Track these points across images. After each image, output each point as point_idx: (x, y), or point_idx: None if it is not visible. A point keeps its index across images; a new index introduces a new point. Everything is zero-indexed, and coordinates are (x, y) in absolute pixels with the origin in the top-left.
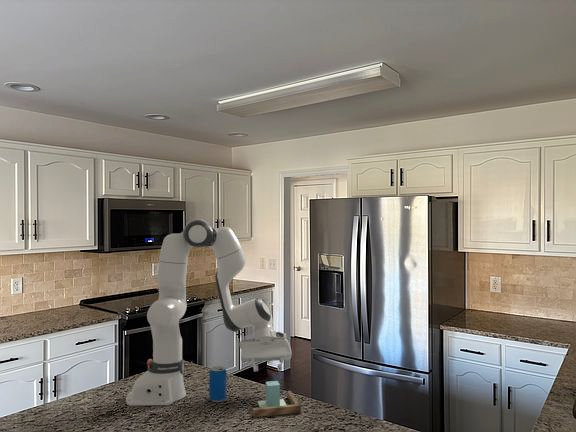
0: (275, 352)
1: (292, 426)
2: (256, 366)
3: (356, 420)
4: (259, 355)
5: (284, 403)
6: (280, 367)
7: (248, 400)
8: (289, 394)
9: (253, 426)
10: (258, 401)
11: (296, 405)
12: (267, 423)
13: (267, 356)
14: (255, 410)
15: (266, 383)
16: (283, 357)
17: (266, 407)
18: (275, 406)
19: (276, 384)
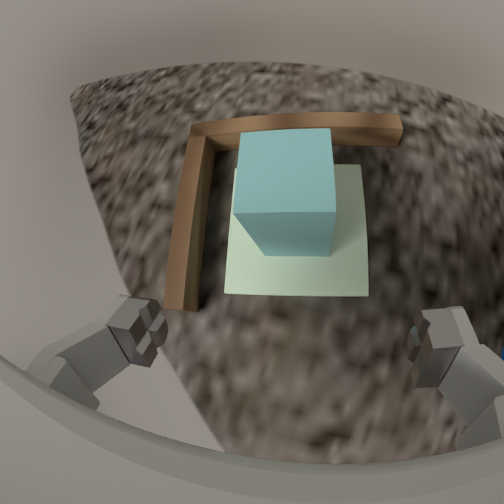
0: (34, 453)
1: (265, 65)
2: (448, 333)
3: (102, 102)
4: (432, 492)
5: (235, 230)
6: (131, 297)
7: (409, 324)
8: (187, 253)
9: (389, 81)
10: (363, 288)
11: (207, 125)
12: (343, 86)
13: (223, 460)
14: (391, 116)
15: (334, 179)
16: (25, 371)
17: (343, 122)
18: (300, 124)
19: (261, 142)
